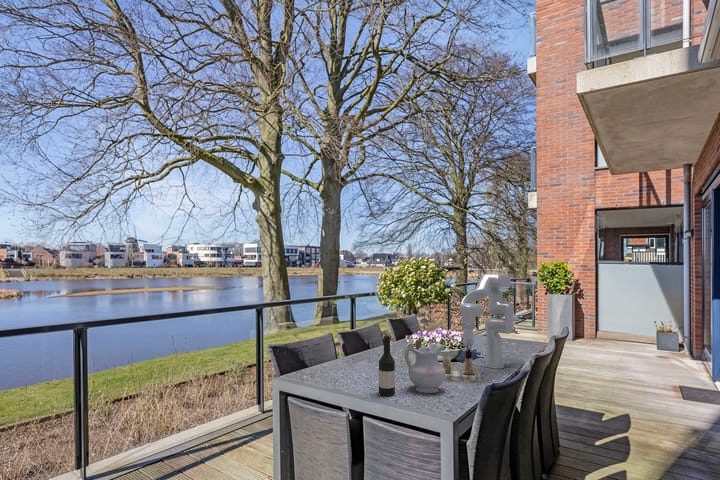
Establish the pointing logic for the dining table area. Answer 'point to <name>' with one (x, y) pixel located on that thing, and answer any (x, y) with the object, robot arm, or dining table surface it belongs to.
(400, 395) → the dining table surface
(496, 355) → the robot arm
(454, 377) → the board
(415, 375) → the ceramic pitcher
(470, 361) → the oak peg
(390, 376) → the wine bottle
